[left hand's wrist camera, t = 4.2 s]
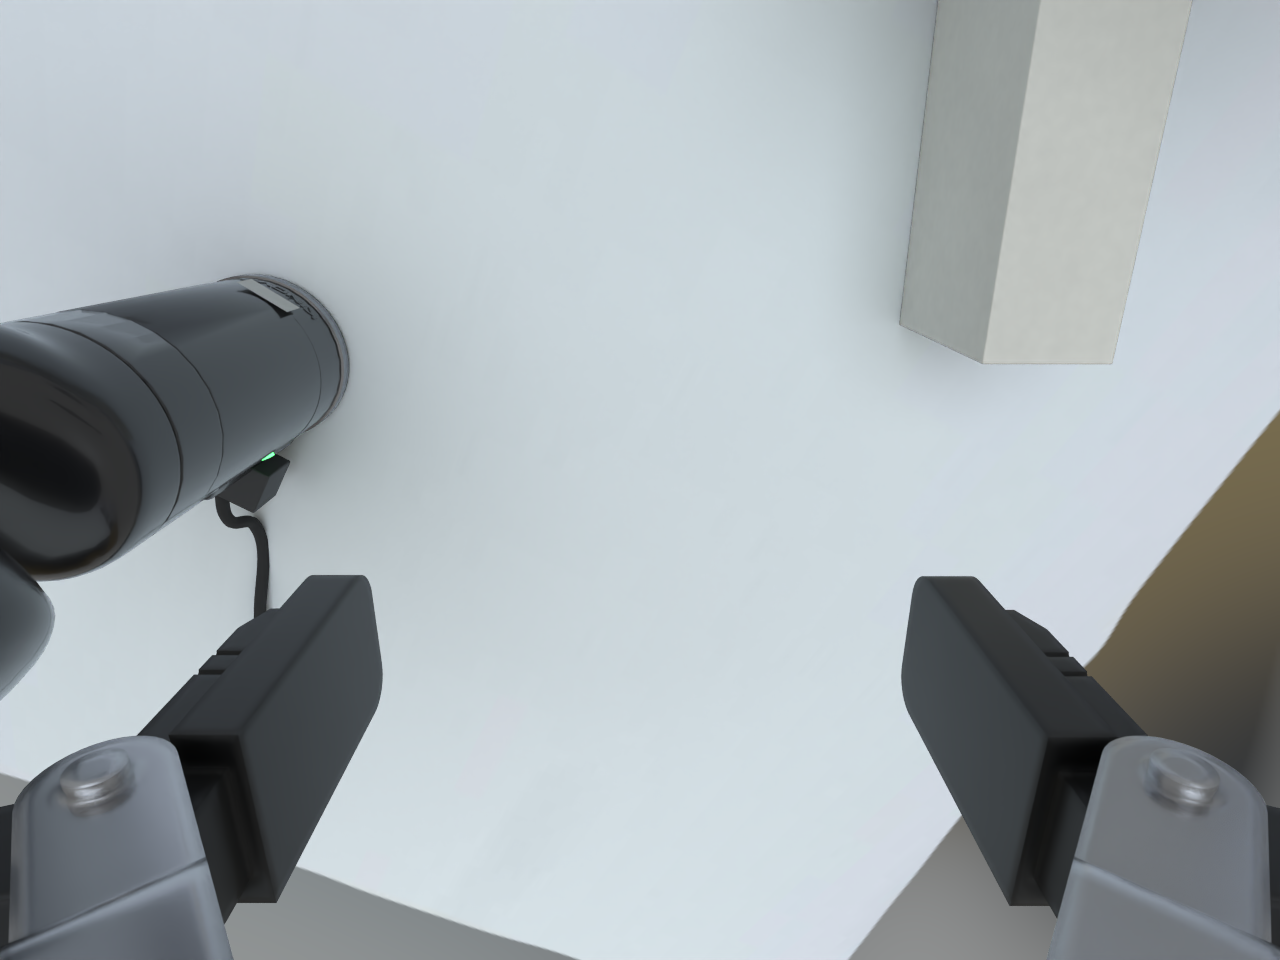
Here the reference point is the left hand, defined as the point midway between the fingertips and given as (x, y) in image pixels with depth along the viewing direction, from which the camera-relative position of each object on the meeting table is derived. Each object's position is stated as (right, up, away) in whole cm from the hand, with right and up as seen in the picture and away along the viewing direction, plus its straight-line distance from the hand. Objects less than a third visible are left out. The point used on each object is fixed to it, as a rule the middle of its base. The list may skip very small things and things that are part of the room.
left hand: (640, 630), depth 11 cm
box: (+18, +23, +28) cm, 41 cm away
